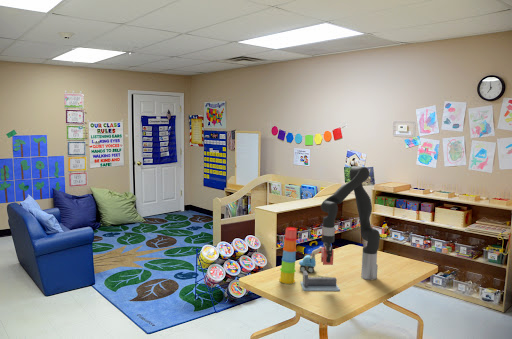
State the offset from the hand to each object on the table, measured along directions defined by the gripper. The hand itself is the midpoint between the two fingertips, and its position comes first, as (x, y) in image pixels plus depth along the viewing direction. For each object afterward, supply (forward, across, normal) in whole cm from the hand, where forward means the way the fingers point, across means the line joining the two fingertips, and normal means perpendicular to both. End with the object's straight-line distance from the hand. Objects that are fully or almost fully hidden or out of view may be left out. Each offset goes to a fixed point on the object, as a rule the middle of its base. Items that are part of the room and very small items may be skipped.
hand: (327, 260), depth 244 cm
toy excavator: (+17, +28, +4) cm, 33 cm away
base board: (+17, 0, +4) cm, 17 cm away
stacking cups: (+17, +9, +23) cm, 30 cm away
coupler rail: (+17, 0, +4) cm, 17 cm away
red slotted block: (+2, 0, 0) cm, 2 cm away
